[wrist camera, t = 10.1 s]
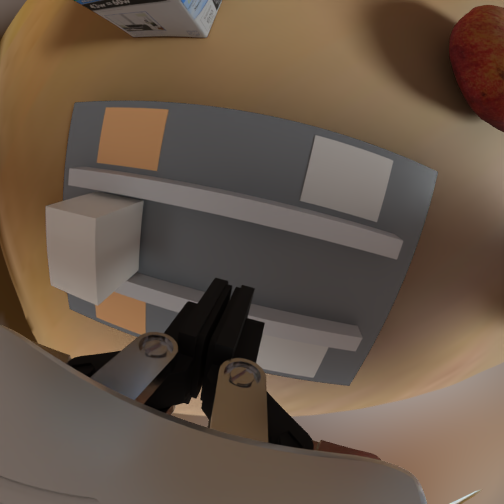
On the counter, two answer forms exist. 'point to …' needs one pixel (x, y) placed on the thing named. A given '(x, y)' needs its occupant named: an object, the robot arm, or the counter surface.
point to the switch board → (254, 224)
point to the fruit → (481, 61)
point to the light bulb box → (158, 16)
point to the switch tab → (93, 244)
